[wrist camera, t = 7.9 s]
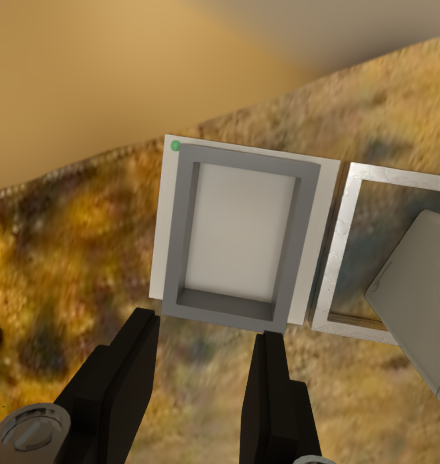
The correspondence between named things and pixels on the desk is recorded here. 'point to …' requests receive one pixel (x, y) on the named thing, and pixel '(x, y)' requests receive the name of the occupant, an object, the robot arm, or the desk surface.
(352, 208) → the rectangular frame tray
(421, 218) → the hard drive
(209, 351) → the desk surface
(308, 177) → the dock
